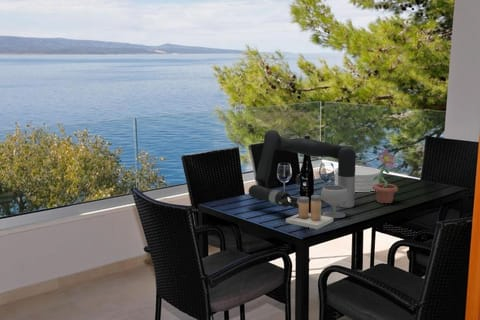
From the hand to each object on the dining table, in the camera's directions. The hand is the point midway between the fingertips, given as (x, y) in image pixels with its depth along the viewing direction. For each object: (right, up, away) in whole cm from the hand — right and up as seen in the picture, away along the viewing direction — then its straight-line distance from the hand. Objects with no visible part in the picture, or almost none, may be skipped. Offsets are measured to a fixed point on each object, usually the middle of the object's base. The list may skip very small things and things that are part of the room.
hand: (302, 204), depth 268 cm
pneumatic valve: (+9, +2, +62) cm, 63 cm away
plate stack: (+43, +4, +72) cm, 84 cm away
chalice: (+18, -7, +10) cm, 22 cm away
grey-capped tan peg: (0, -9, +1) cm, 9 cm away
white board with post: (+3, -9, -1) cm, 10 cm away
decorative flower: (+51, -2, +36) cm, 62 cm away
